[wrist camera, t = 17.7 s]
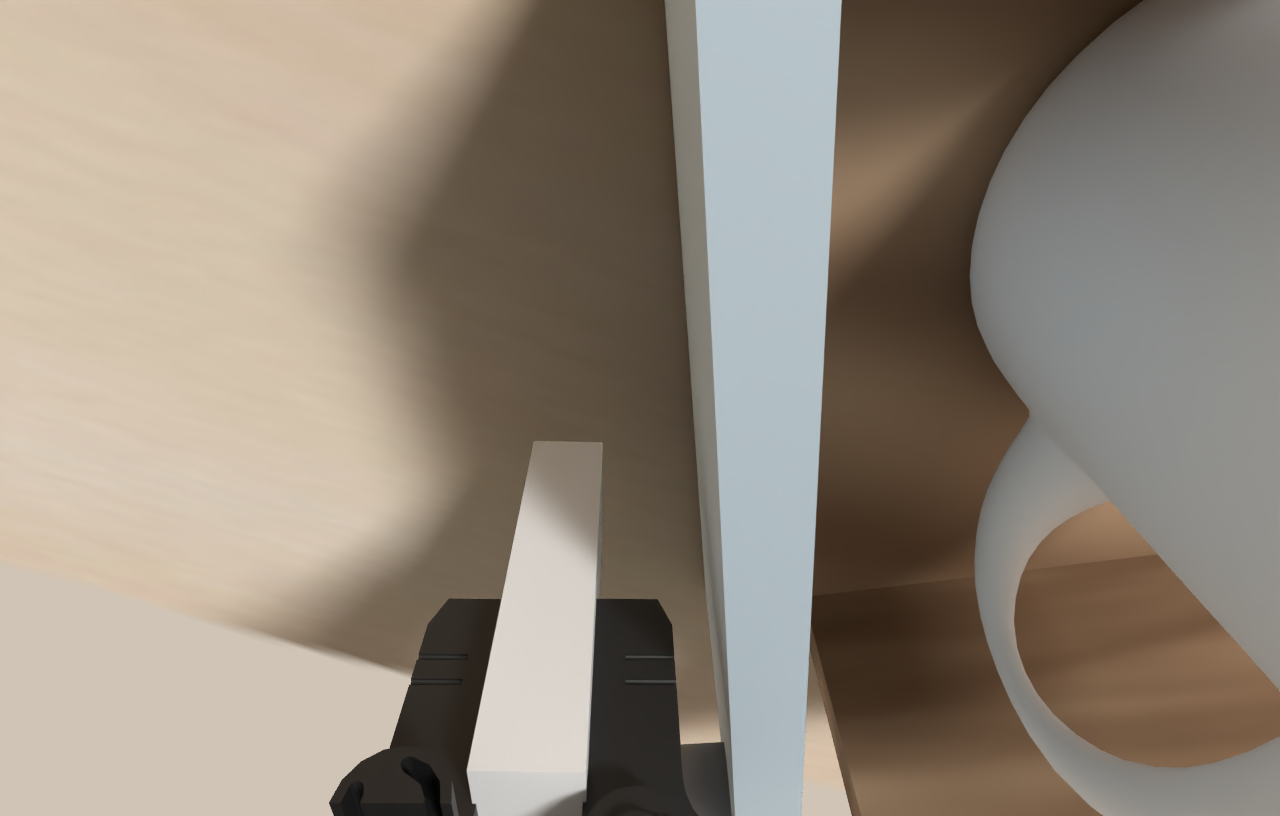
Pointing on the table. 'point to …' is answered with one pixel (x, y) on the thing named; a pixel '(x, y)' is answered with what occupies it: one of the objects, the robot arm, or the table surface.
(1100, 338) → the mug
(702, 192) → the door
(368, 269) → the table surface
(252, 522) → the table surface
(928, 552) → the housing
